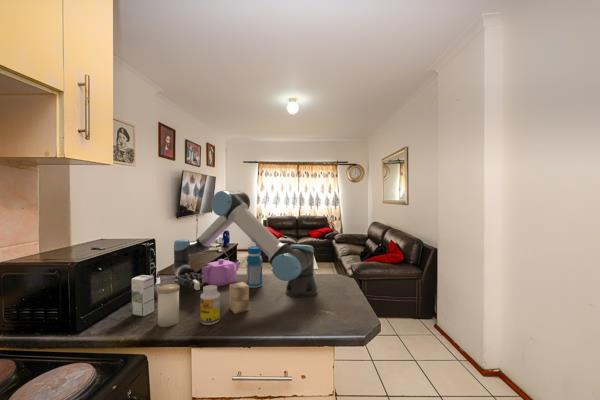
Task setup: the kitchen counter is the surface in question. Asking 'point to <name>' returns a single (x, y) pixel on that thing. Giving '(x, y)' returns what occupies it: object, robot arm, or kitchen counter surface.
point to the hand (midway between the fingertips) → (197, 286)
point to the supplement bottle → (210, 305)
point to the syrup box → (142, 295)
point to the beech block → (239, 297)
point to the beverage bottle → (254, 267)
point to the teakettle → (220, 272)
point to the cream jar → (168, 305)
